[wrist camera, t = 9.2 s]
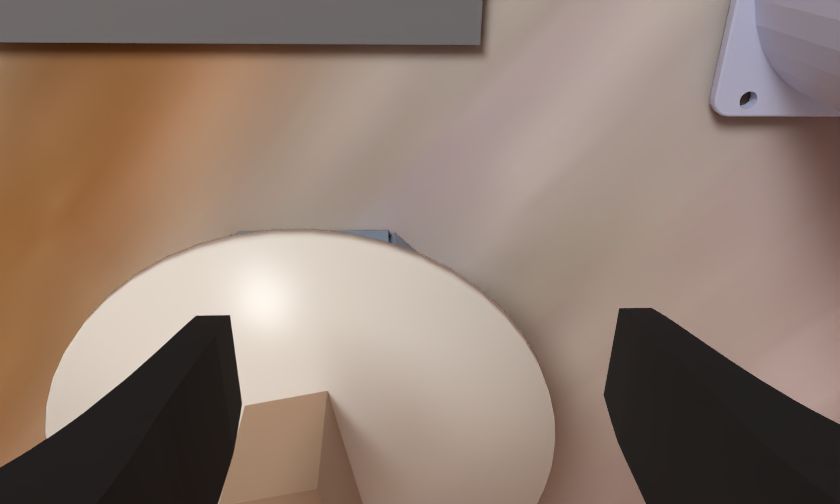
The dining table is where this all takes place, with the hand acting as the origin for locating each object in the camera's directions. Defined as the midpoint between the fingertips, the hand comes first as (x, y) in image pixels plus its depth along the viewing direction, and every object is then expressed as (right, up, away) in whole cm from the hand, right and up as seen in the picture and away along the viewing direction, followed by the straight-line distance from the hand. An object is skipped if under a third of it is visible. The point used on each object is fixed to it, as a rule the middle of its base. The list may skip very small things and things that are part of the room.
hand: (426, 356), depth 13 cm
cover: (-4, -4, +8) cm, 10 cm away
